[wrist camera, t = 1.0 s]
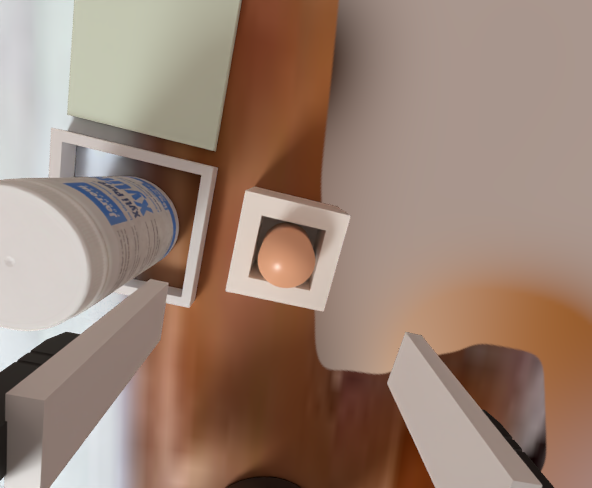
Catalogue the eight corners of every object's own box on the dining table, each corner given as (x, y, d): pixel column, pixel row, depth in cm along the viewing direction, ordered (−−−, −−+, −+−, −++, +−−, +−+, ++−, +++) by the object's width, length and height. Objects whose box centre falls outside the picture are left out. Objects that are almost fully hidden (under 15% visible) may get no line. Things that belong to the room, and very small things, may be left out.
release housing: (316, 283, 34) (323, 311, 27) (238, 266, 33) (225, 291, 26) (337, 206, 32) (350, 215, 25) (254, 186, 31) (245, 190, 24)
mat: (215, 151, 30) (214, 151, 30) (73, 116, 29) (67, 114, 28) (242, -5, 27) (241, -10, 26) (84, -52, 26) (78, -59, 25)
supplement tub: (186, 185, 31) (100, 196, 17) (177, 270, 33) (94, 346, 19) (89, 167, 30) (-86, 163, 16) (87, 256, 32) (-70, 322, 18)
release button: (304, 273, 29) (307, 293, 25) (258, 263, 29) (252, 281, 24) (315, 228, 28) (321, 240, 24) (268, 217, 28) (264, 226, 23)
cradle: (194, 300, 34) (189, 307, 32) (57, 271, 33) (43, 278, 31) (218, 167, 31) (213, 167, 29) (66, 130, 29) (51, 127, 28)
